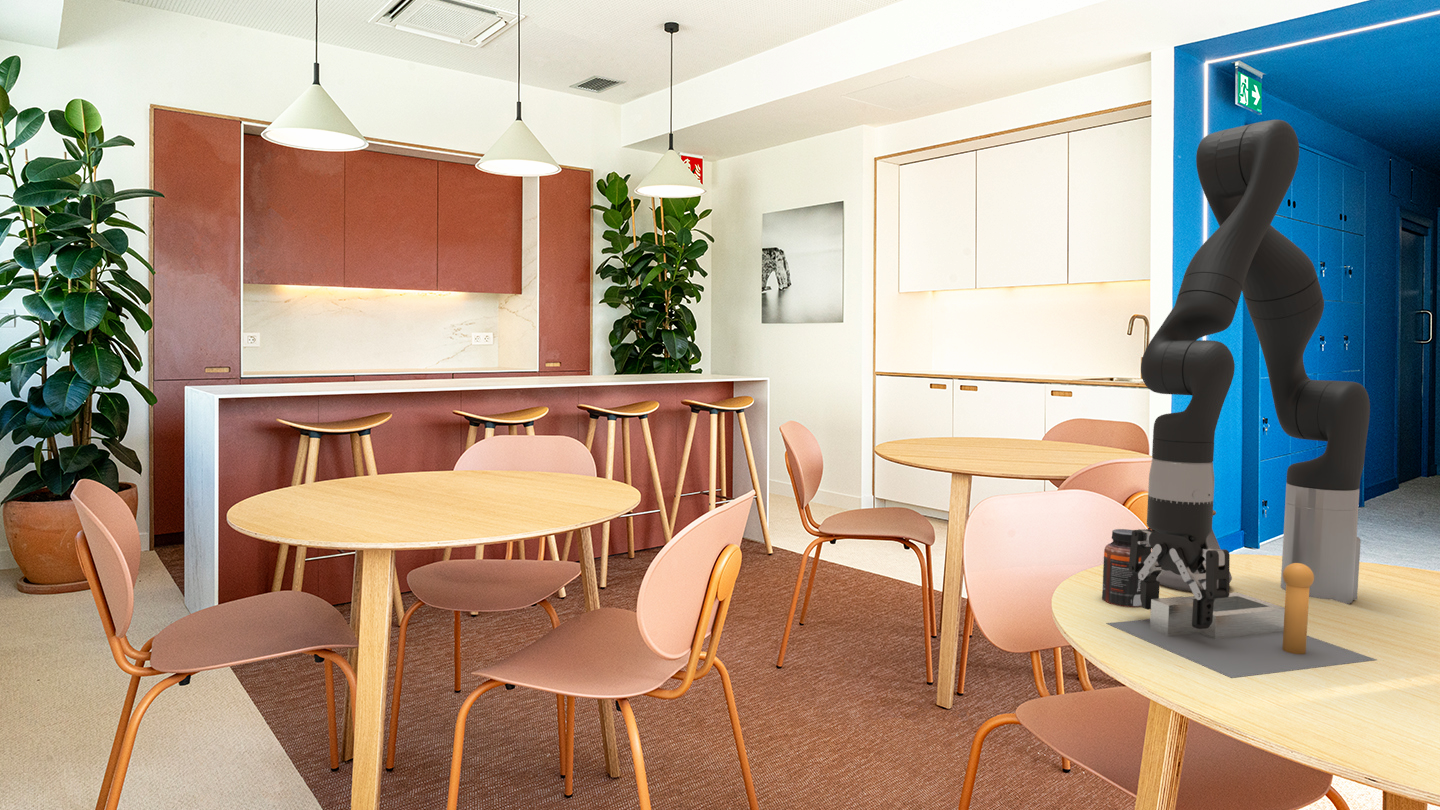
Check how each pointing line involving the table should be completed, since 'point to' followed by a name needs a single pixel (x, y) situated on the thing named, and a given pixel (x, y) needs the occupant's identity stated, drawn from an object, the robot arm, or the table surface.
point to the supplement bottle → (1120, 572)
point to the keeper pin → (1296, 607)
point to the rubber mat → (1244, 651)
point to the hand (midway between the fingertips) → (1174, 617)
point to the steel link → (1218, 617)
